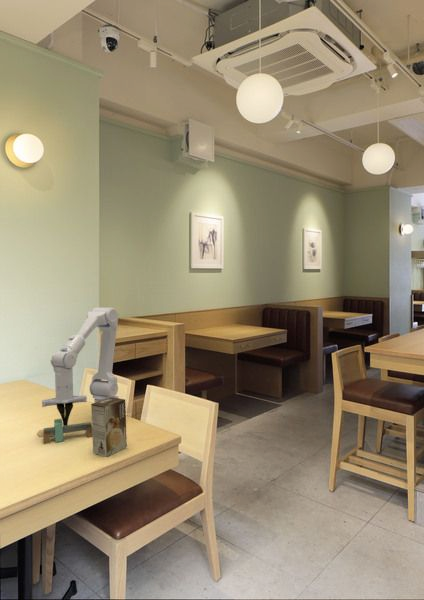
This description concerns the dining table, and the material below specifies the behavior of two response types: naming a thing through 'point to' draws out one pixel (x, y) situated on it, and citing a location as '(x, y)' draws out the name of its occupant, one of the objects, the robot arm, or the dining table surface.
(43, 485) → the dining table surface
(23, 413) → the dining table surface
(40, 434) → the coaster
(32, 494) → the dining table surface
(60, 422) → the green rectangular loop
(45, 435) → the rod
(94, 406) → the coffee box
